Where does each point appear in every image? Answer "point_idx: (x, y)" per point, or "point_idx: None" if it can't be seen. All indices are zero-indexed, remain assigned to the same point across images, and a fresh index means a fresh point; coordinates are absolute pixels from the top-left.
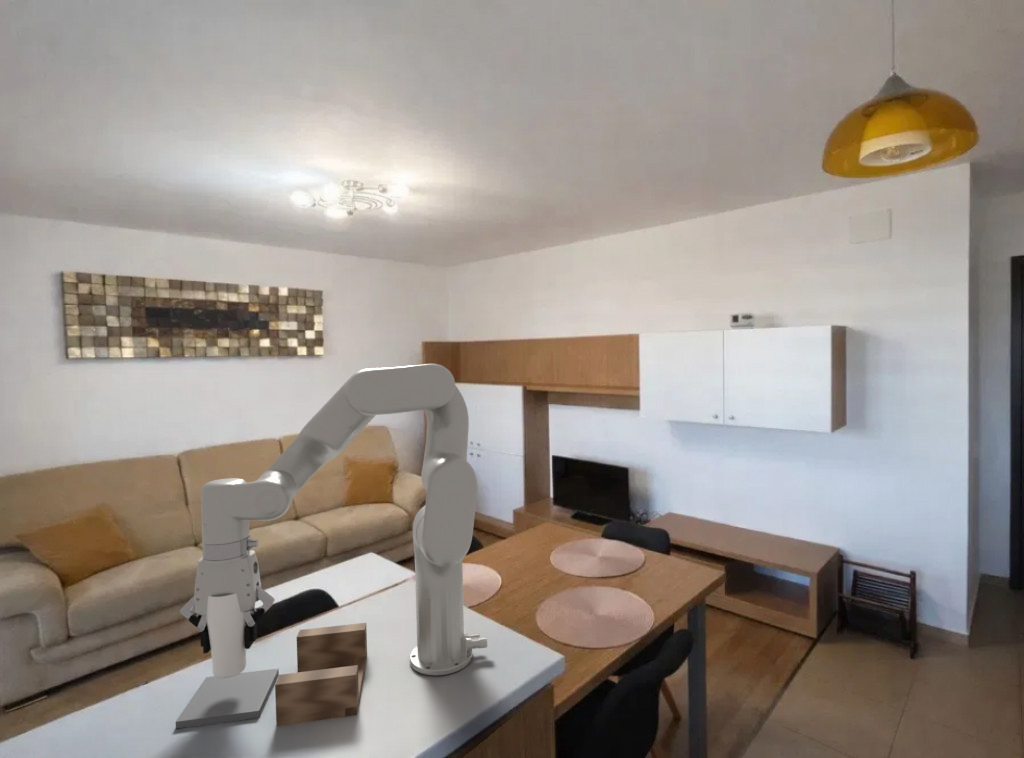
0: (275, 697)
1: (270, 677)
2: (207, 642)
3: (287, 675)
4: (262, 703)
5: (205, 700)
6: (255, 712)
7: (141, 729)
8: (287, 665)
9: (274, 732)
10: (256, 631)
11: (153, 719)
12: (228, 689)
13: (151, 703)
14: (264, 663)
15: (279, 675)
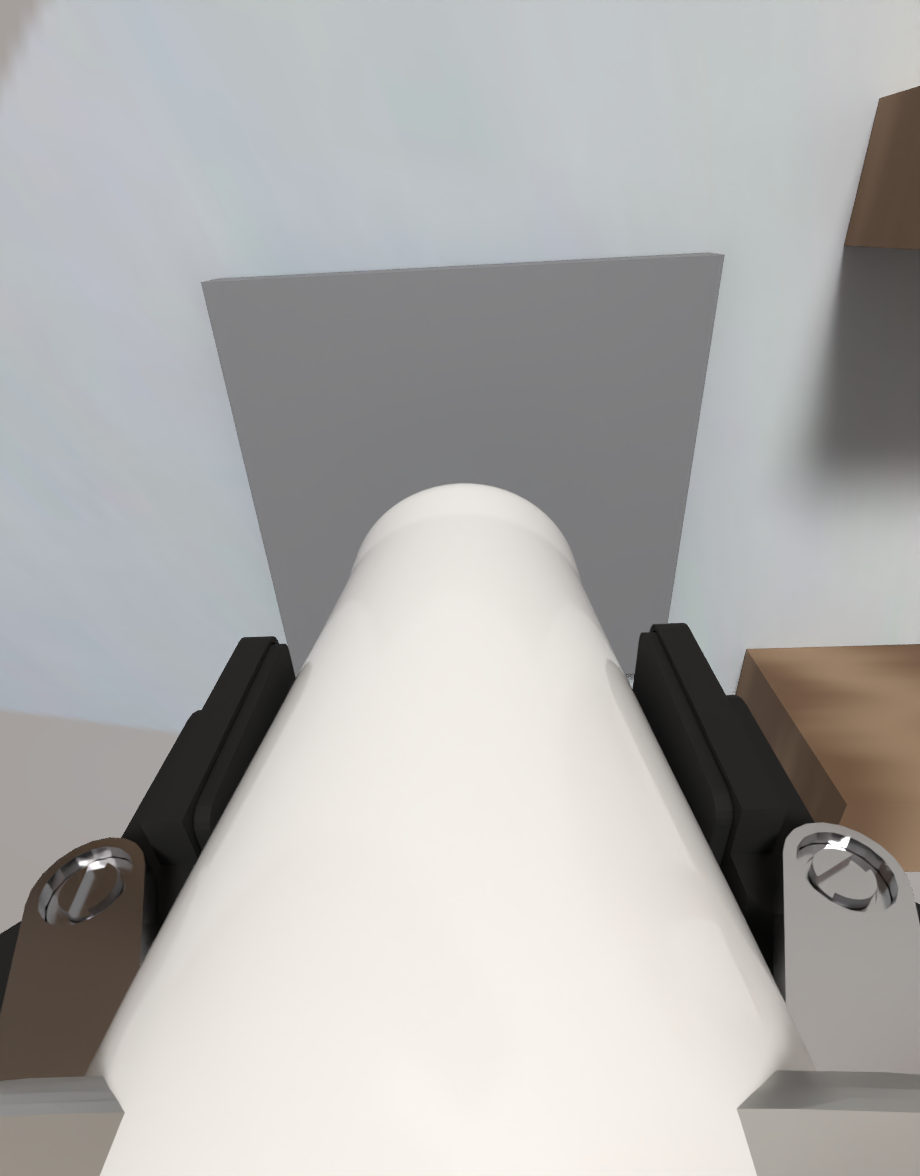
0: None
1: (678, 381)
2: None
3: (893, 817)
4: (666, 623)
5: (352, 556)
6: None
7: (148, 640)
8: (767, 98)
9: None
10: (762, 739)
11: (148, 584)
12: (437, 469)
13: (18, 449)
14: (563, 6)
15: (845, 809)
